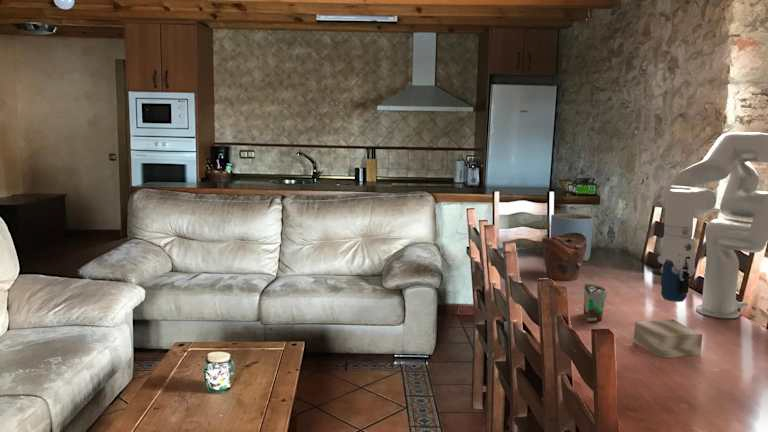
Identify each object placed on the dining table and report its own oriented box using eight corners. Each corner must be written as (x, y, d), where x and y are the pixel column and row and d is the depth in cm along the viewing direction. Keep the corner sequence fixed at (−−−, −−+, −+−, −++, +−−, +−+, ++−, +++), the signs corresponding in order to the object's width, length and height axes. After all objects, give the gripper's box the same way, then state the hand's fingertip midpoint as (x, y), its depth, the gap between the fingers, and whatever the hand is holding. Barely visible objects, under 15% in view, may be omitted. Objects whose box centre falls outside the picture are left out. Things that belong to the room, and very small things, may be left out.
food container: (608, 325, 182) (610, 294, 181) (587, 324, 184) (589, 293, 182) (602, 313, 194) (604, 284, 193) (582, 312, 196) (584, 283, 194)
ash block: (671, 339, 171) (673, 319, 170) (700, 355, 159) (702, 334, 158) (633, 341, 169) (635, 321, 168) (660, 357, 157) (661, 336, 156)
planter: (596, 262, 270) (599, 219, 268) (555, 262, 271) (557, 219, 268) (583, 254, 289) (586, 213, 286) (544, 253, 290) (546, 213, 287)
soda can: (685, 303, 174) (687, 264, 172) (659, 300, 177) (661, 261, 175) (687, 297, 180) (690, 259, 178) (662, 294, 183) (665, 256, 181)
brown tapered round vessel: (535, 279, 237) (538, 235, 235) (542, 269, 256) (545, 228, 253) (582, 285, 231) (586, 240, 228) (585, 274, 249) (589, 232, 247)
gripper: (710, 236, 167) (705, 296, 170) (670, 225, 184) (667, 280, 187) (686, 237, 166) (682, 298, 169) (648, 226, 183) (645, 282, 186)
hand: (674, 288), depth 178 cm, fingers closed on soda can, 6 cm apart
